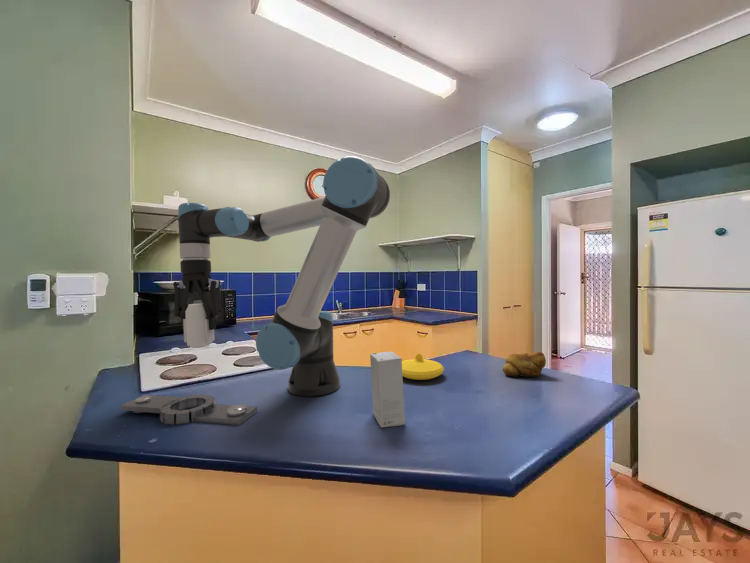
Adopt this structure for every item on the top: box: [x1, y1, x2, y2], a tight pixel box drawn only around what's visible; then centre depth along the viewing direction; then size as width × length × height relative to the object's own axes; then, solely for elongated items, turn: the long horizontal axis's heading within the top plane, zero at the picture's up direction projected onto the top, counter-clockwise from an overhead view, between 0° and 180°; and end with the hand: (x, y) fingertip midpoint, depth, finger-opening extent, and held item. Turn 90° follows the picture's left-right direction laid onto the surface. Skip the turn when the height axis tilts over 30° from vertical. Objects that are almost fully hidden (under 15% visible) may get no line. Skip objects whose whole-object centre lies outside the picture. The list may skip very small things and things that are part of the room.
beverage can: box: [185, 302, 213, 349], centre depth 91 cm, size 6×6×12 cm
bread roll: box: [502, 351, 547, 378], centre depth 104 cm, size 13×10×8 cm
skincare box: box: [369, 351, 406, 428], centre depth 74 cm, size 8×6×15 cm
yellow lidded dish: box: [402, 353, 445, 381], centre depth 105 cm, size 16×16×7 cm
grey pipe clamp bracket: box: [119, 394, 258, 426], centre depth 80 cm, size 33×12×3 cm, turn 78°
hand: (199, 341), depth 91 cm, fingers closed on beverage can, 6 cm apart
